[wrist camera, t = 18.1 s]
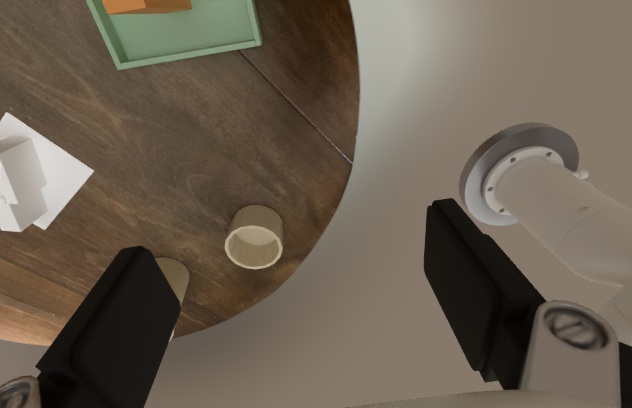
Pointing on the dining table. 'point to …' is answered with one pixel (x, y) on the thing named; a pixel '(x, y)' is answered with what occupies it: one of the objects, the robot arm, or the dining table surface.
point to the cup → (255, 237)
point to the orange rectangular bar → (145, 6)
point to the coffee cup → (174, 277)
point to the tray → (178, 31)
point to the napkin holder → (34, 177)
